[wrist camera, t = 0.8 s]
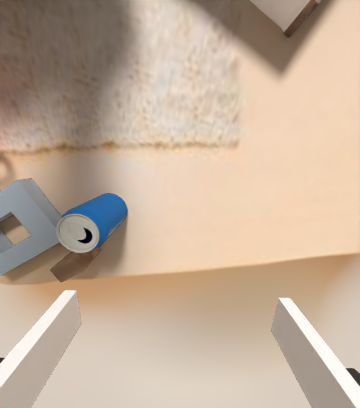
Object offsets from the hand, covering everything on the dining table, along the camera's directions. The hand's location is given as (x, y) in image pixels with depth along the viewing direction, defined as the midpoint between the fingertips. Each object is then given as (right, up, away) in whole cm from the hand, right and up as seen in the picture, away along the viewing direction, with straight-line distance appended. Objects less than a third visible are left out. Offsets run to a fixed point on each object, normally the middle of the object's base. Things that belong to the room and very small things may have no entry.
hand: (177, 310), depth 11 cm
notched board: (-33, +2, +24) cm, 41 cm away
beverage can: (-13, +6, +23) cm, 27 cm away
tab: (-20, -3, +25) cm, 32 cm away
